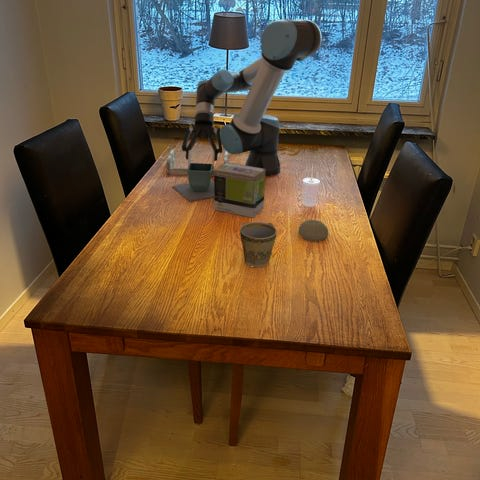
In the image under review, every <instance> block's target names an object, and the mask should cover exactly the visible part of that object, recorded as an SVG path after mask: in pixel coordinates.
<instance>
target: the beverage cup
mask: <svg viewBox="0 0 480 480" xmlns="http://www.w3.org/2000/svg"><path fill="white" fill-rule="evenodd" d="M313 173H314V166H312V167H311V174H310V176H311V177H305V178H302V203H301V204H302V205H303V206H304V207H315V205H316V202H317V195H318V191H319V185H320V183H321V181H320V179H318V178H315V177H313V175H314V174H313Z"/></svg>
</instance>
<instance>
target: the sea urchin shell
mask: <svg viewBox="0 0 480 480" xmlns="http://www.w3.org/2000/svg"><path fill="white" fill-rule="evenodd" d="M298 235H299V237H301V238H303V239H304V240H307V241H310V242H319V241H323V240H325V239H326V238H327V237H329V229H328V227H327V226H326V225H325V223H324V222H322V221H320V220H317V219H307V220H304V221H303V222H301V224H300V225H299V227H298Z"/></svg>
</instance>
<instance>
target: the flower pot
mask: <svg viewBox="0 0 480 480" xmlns="http://www.w3.org/2000/svg"><path fill="white" fill-rule="evenodd" d="M187 168H188V170H187V172H188V175H187V177H188V178H187V179H188V183H189V184H190V187H191V188H192V190H193V191H201V192H206V191H207V190H208V188H209V186H210V182H211V181H212V177H213V176H212V168H213V164H212V163H204V162H202V163H199V162H191V163H190V164H189V167H188V166H187Z"/></svg>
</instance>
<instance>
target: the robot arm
mask: <svg viewBox="0 0 480 480" xmlns="http://www.w3.org/2000/svg"><path fill="white" fill-rule="evenodd" d="M321 32H322V31H321V30H320V27H319V26H318V24H316V23H315V22H314V21H312V20H310V19H286V18H283V19H279V20H273V21H271V22H269V23H268V24H267V25H266V26H265V28H264V29H263V30H262V33H261V35H260V41H259V42H260V43H261V45H260V50H261V52H260V54H261V55H260V56H261V57H259V58H258V59H257V60H255V61H254V62H252V63H250V64H249V65H247V66H245V68H243V69H241V70H239V71H232V72H230V70H227V69H226V68H221V69H219V70H218V71H215V73H214V74H213V75H212V76H211V77H210V78H209V79H207V78H206V79H203V80H200V81H198V83H197V86H196V87H197V88H196V98H195V111H194V113H195V114H194V115H195V116H194V124H193V127H190V126H186V128H185V131H186V133H185V135H184V138H183V139H184V140H183V142H182V145H181V150H182V151H183V152H185V160H186V161H187V168H188V167H189V164H190V163H192V149H193V147H194V146H195V144H196V143H197V141H198V140H199V139H207V140H208V142H209V144H210V146H211V148H212V150H213V151H212V157H211V164H213V168H212V169H215V162H217V161H218V154H222V153H223V149H224V150H226V151H227V152H228V154H230V155H240V154H243V153H247V152H249V153H248V155H247V158H246V161H245V164H244V165H245V166H251V167H257V168H264V169H266V170H265V177H270V176H275V175H278V174H280V173H281V163H280V159H279V154H278V149H279V148H278V147H279V138H280V137H279V136H280V119H279V118H278V117H275V116H272V115H269V114H265V113H266V111H267V109H268V107H269V105H270V103H271V101H272V99H273V98H274V94H275V93H276V91H277V89H278V87H279V85H280V83H281V81H282V79H283V77H284V76H285V72H288V71H291V70H292V69H293V67H294V65H295V63H296V62H303V61H304V60H306V59H308V58H309V57H311V56H313V55H314V54H316V52H317V51H318V50H319V48H320V47H321V45H322V33H321ZM235 92H247V95H246V97H245V99H244V102H243V103H242V106H241V109H240V111H239V112H236V113H235V114H234V115H233V116H232V119H231V121H230V123H229V124H225V125H223V126H222V127H218V128H214V114H215V102H216V100H217V99H218V98H220V97H221V96H222V95H223V94H228V93H235ZM192 132H194V135H193V137H192V138H191V140H190V137H191V134H192ZM213 133H214V134H215V135H216V141H217V145H216V143H215V141H214V139H213V137H212V135H213ZM189 140H190V142H189Z"/></svg>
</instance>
